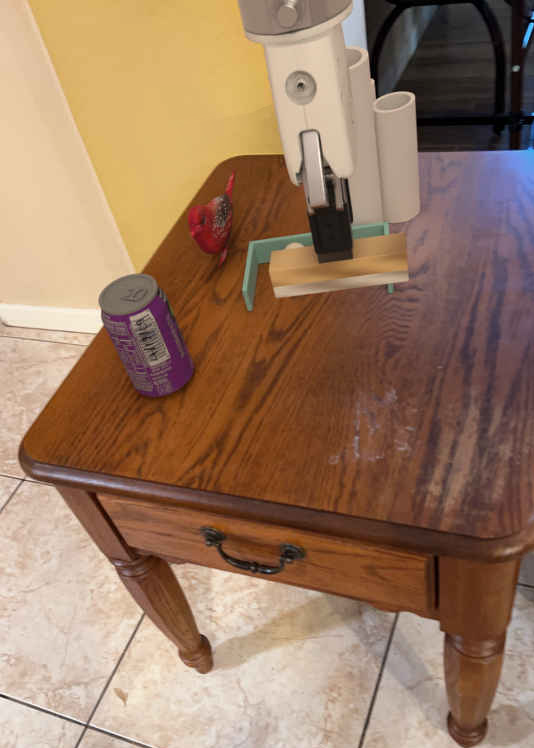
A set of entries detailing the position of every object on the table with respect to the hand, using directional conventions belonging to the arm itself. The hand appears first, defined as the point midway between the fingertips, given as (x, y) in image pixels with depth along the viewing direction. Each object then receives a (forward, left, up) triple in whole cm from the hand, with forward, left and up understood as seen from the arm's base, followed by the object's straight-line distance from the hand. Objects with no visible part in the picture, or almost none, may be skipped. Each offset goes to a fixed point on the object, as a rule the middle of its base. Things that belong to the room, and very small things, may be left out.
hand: (334, 235), depth 60 cm
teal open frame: (+4, -21, -17) cm, 27 cm away
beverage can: (+22, -3, -17) cm, 28 cm away
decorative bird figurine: (+17, -27, -17) cm, 36 cm away
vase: (-2, -29, -17) cm, 34 cm away
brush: (0, 0, -5) cm, 5 cm away
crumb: (+7, -21, -15) cm, 26 cm away
